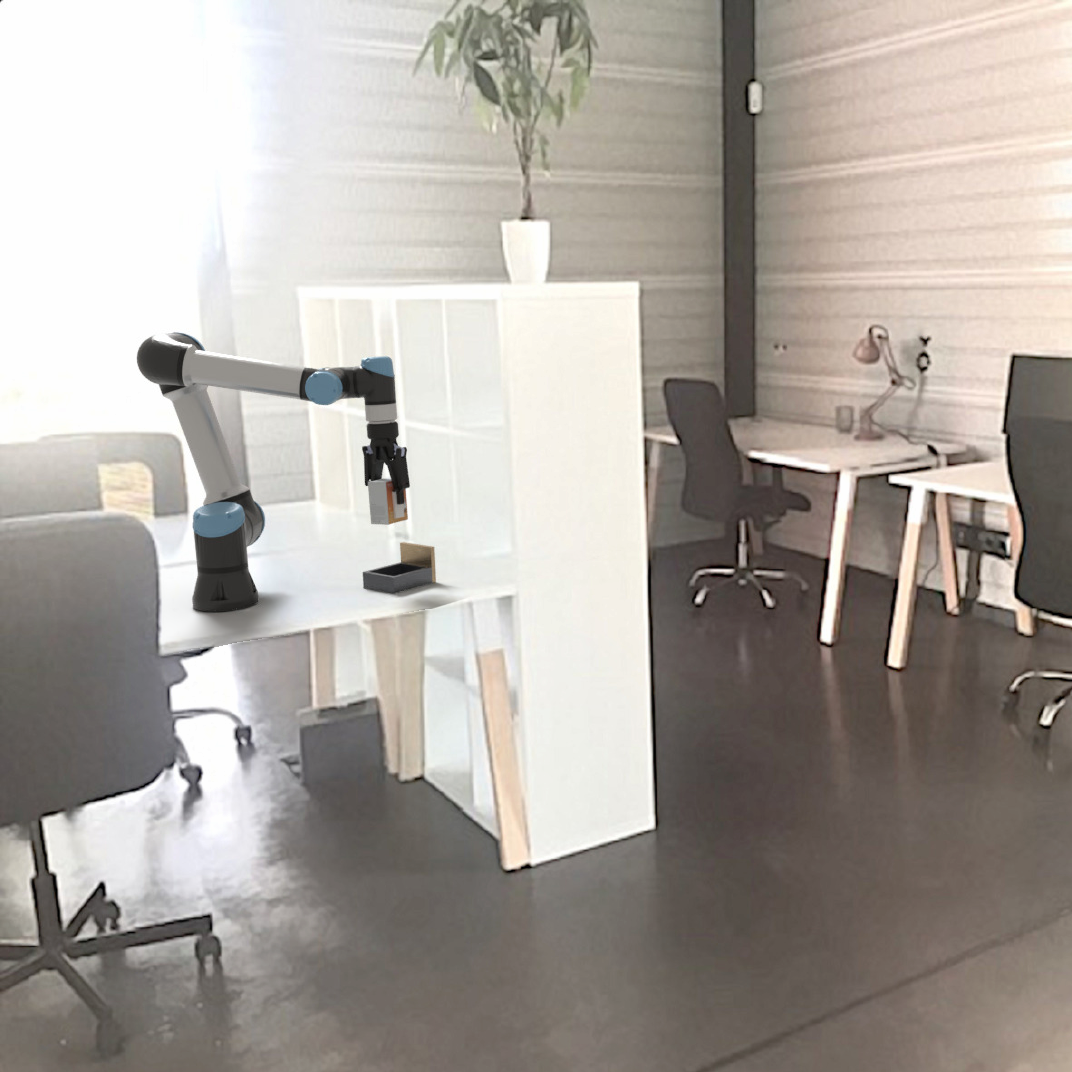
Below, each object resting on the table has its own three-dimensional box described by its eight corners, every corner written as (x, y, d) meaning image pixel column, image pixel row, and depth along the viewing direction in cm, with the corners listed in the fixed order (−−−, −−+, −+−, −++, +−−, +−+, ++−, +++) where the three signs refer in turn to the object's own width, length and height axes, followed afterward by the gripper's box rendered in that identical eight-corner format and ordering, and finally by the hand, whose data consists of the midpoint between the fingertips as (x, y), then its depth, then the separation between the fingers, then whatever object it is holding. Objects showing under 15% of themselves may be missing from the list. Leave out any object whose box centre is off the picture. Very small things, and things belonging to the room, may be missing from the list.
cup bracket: (363, 587, 291) (361, 552, 289) (405, 576, 302) (403, 542, 300) (394, 593, 284) (392, 557, 282) (436, 582, 295) (434, 546, 293)
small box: (388, 525, 283) (385, 482, 281) (370, 524, 286) (366, 481, 284) (408, 519, 290) (405, 477, 288) (390, 518, 293) (387, 476, 291)
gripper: (421, 420, 280) (428, 516, 284) (367, 419, 292) (375, 510, 297) (397, 424, 274) (405, 522, 279) (343, 422, 287) (352, 515, 291)
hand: (389, 516), depth 288 cm, fingers closed on small box, 6 cm apart
